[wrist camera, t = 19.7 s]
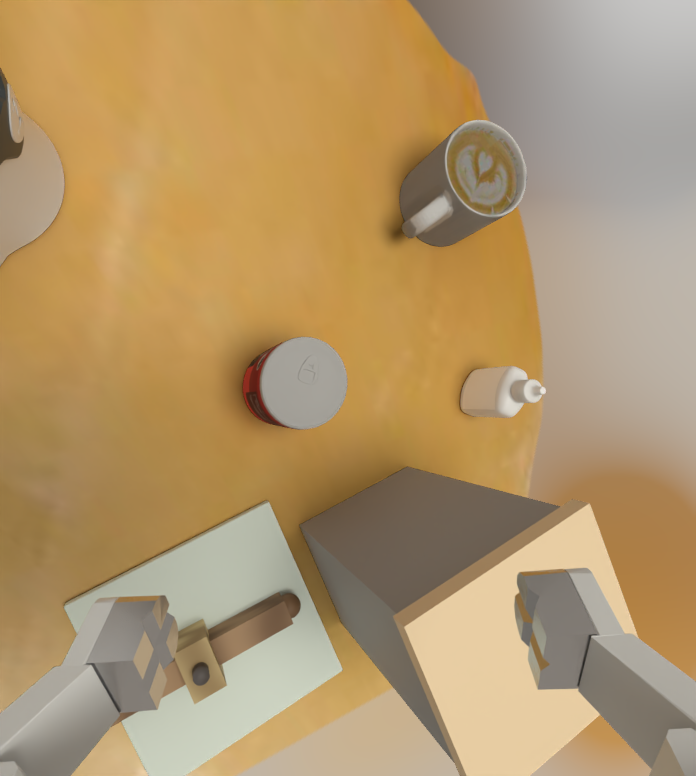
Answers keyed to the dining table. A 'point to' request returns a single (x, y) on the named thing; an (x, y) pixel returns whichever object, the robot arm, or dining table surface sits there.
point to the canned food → (296, 384)
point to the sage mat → (215, 605)
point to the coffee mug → (463, 184)
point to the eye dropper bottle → (498, 392)
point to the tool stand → (460, 608)
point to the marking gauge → (223, 646)
